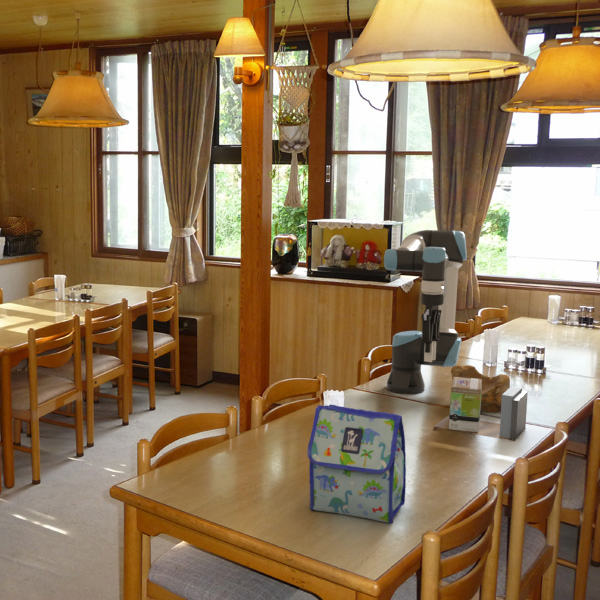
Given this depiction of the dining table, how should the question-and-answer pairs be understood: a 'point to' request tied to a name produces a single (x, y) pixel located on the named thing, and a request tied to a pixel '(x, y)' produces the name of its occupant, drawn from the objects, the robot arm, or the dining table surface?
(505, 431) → the grey upright block
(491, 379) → the rough brown rock
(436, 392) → the dining table surface
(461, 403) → the tea box
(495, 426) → the shelf board
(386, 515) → the lunch bag
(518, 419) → the gray square slab
